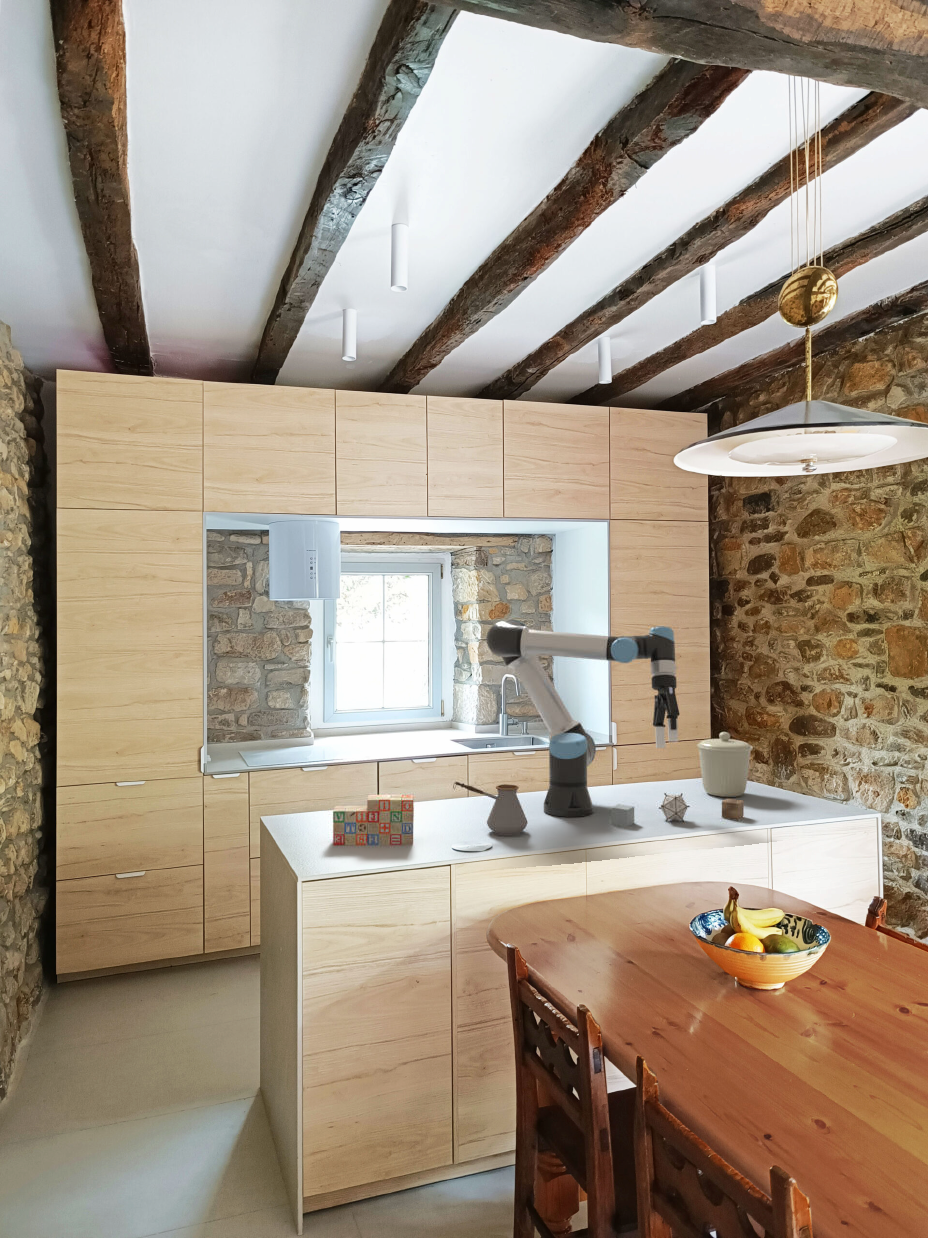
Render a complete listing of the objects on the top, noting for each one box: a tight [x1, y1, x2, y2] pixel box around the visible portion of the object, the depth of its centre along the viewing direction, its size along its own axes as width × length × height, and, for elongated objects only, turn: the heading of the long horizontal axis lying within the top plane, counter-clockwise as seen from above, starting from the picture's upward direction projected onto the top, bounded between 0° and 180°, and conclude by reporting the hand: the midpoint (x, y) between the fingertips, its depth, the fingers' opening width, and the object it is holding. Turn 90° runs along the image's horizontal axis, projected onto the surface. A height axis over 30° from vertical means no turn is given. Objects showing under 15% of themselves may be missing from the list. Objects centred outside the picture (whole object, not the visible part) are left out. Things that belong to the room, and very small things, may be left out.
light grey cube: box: [610, 803, 635, 828], centre depth 246 cm, size 5×5×5 cm
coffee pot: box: [452, 781, 529, 837], centre depth 235 cm, size 21×12×15 cm, turn 104°
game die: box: [658, 792, 691, 823], centre depth 249 cm, size 9×8×10 cm
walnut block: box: [721, 798, 745, 821], centre depth 253 cm, size 5×5×5 cm
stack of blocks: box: [332, 793, 415, 846], centre depth 226 cm, size 21×6×12 cm, turn 92°
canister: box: [696, 731, 754, 798], centre depth 285 cm, size 18×18×21 cm
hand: (666, 744), depth 256 cm, fingers open, 13 cm apart
